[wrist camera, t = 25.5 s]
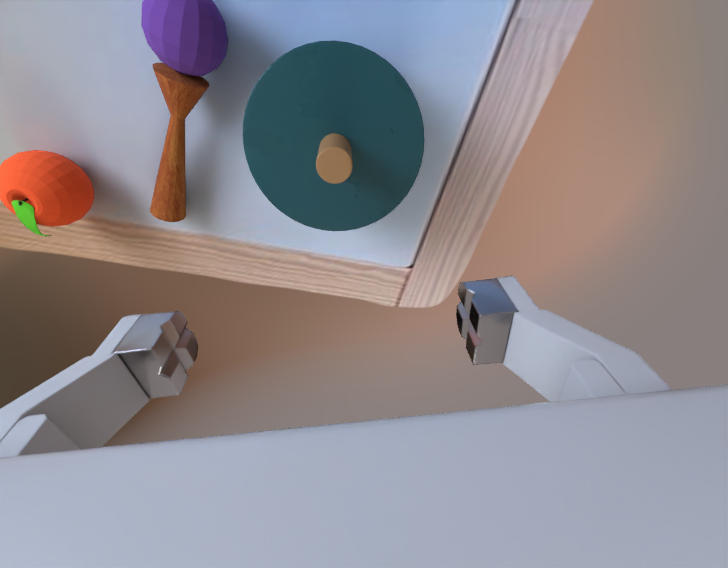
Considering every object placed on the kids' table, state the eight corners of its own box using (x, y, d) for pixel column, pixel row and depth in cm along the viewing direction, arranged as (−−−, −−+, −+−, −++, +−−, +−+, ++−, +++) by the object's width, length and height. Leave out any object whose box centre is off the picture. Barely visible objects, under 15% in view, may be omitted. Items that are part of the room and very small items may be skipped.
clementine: (114, 223, 39) (74, 256, 33) (43, 209, 38) (-11, 241, 32) (103, 152, 35) (55, 175, 29) (23, 133, 33) (-45, 153, 27)
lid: (221, 51, 23) (194, 54, 19) (422, 30, 23) (440, 28, 19) (270, 232, 31) (259, 263, 27) (420, 216, 31) (433, 245, 26)
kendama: (120, 211, 34) (121, -45, 23) (158, 190, 39) (175, -30, 27) (179, 237, 35) (209, 2, 23) (209, 213, 40) (246, 9, 28)
